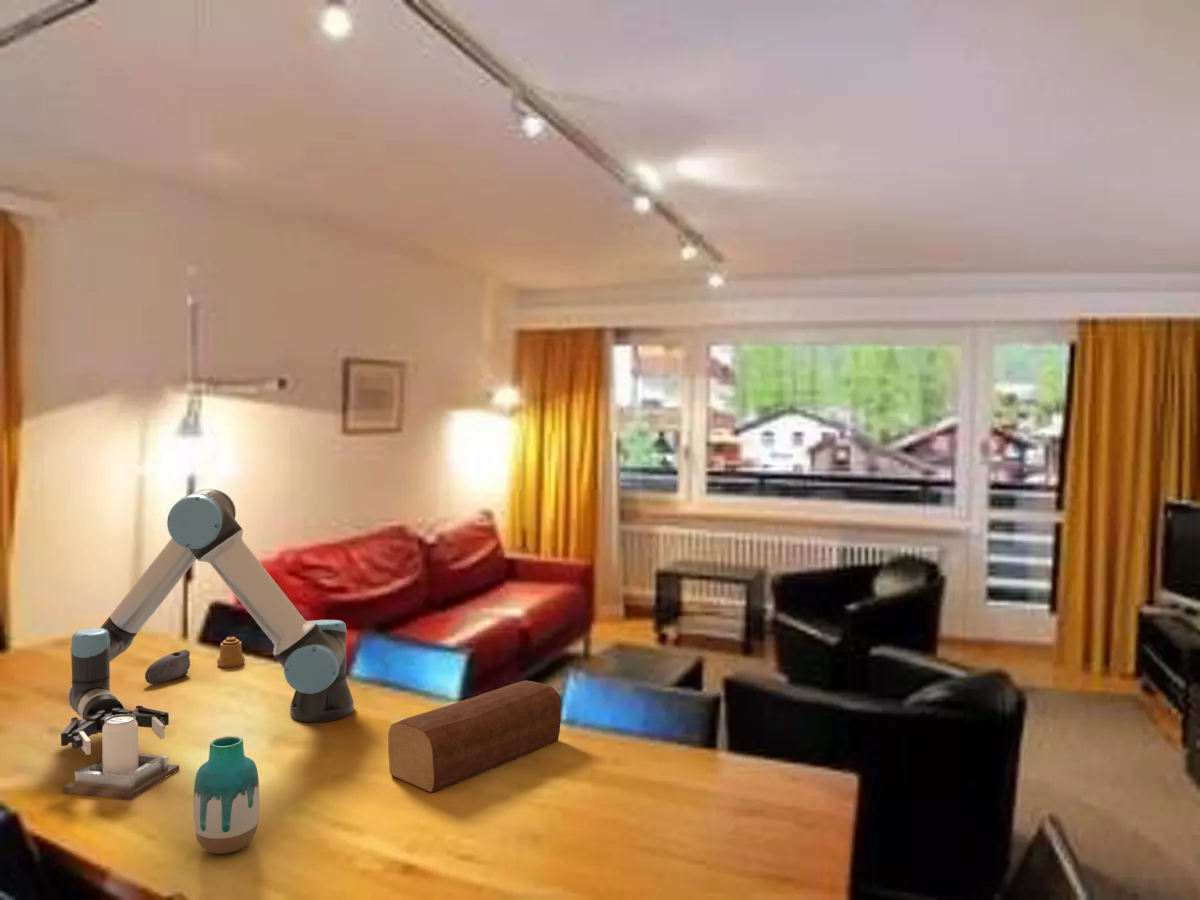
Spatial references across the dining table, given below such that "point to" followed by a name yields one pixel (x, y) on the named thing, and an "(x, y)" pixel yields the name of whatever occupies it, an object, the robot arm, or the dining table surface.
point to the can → (120, 744)
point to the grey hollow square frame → (98, 778)
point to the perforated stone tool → (168, 667)
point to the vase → (226, 798)
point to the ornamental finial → (230, 653)
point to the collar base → (118, 792)
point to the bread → (473, 735)
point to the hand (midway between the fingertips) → (126, 739)
